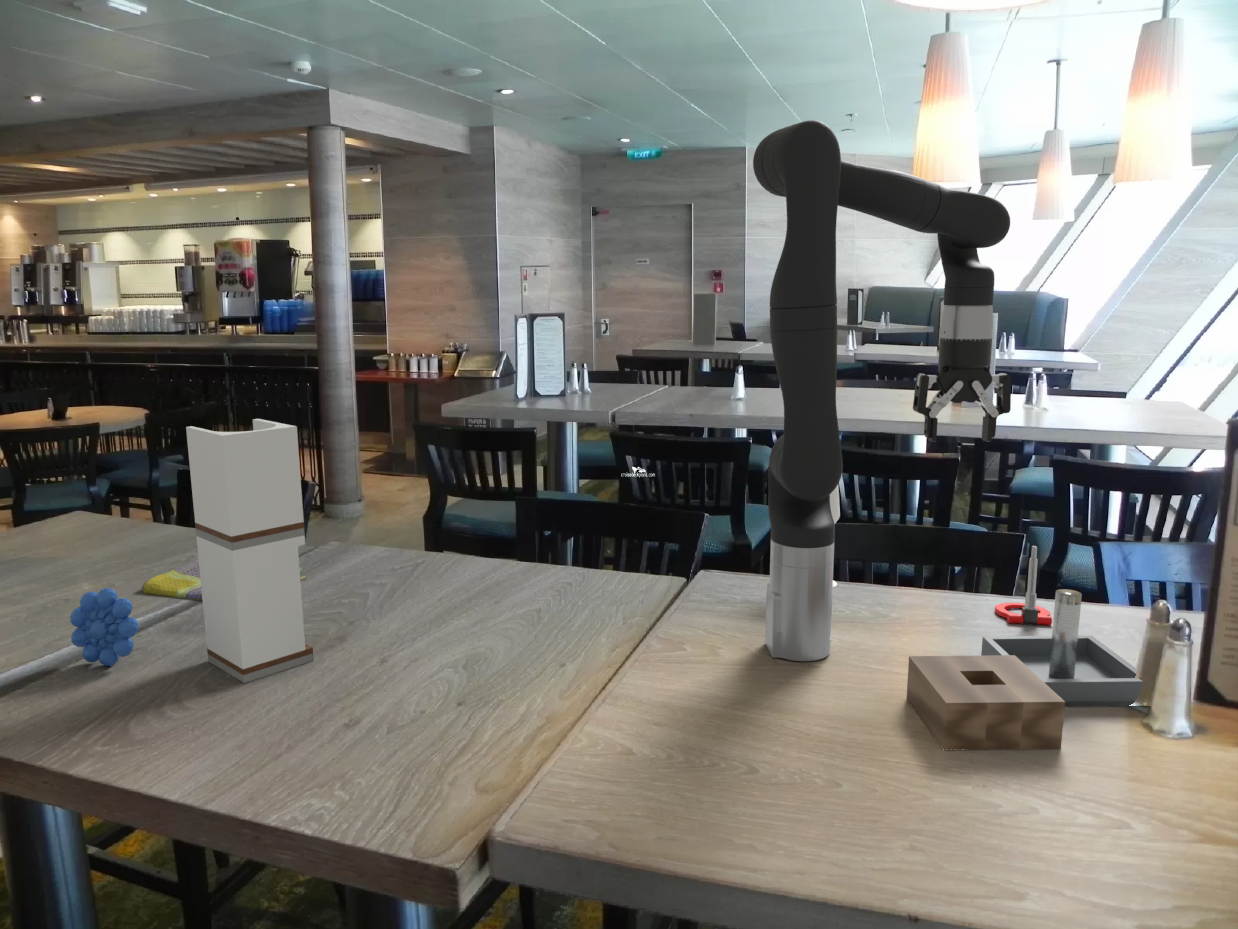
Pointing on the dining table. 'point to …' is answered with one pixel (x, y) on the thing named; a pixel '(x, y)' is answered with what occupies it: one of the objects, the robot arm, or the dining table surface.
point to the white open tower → (250, 547)
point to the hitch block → (984, 703)
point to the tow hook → (1027, 601)
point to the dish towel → (180, 582)
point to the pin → (1065, 634)
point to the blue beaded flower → (103, 626)
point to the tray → (1096, 670)
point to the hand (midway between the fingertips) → (959, 440)
